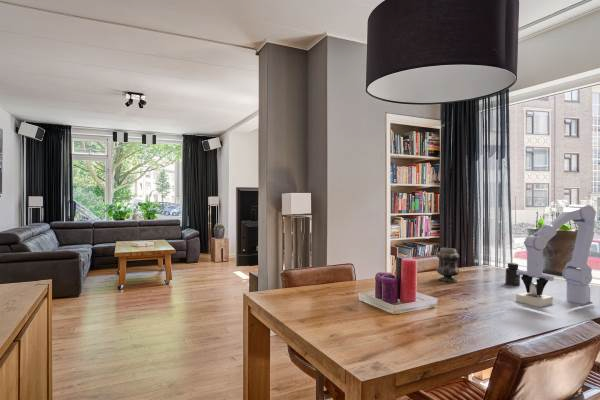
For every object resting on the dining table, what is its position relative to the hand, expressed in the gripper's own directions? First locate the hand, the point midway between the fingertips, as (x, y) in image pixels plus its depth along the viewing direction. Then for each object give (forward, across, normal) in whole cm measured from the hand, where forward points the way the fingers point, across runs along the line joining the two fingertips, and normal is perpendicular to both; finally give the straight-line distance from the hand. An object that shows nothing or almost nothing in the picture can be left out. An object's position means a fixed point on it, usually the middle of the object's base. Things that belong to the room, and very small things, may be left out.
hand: (534, 293), depth 159 cm
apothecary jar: (+5, -49, +5) cm, 49 cm away
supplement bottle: (+5, -24, +25) cm, 35 cm away
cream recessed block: (+5, -3, +4) cm, 7 cm away
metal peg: (+2, 0, 0) cm, 2 cm away
